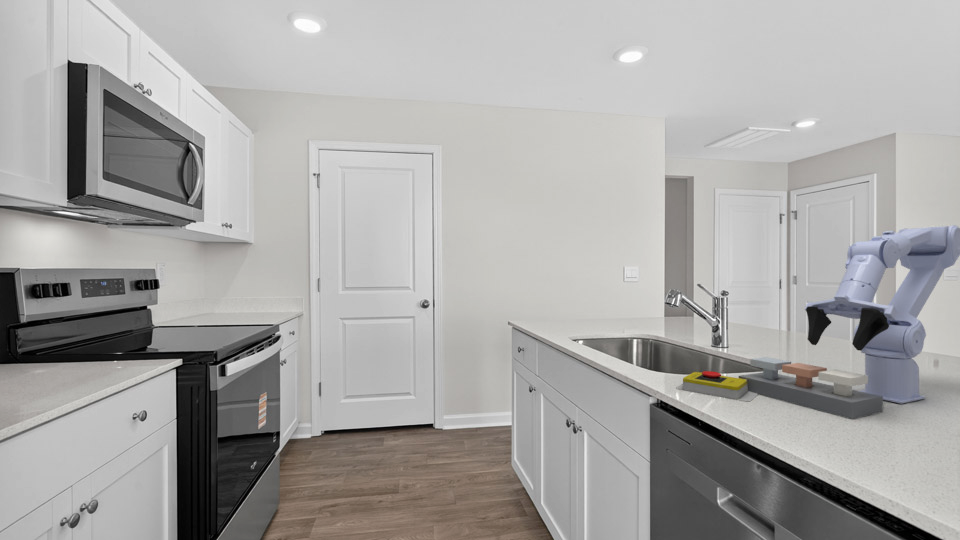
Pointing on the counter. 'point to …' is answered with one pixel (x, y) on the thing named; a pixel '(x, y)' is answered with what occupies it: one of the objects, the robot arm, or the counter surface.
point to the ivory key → (843, 380)
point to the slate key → (769, 366)
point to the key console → (815, 396)
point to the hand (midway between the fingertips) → (833, 344)
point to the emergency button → (717, 386)
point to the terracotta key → (803, 373)
